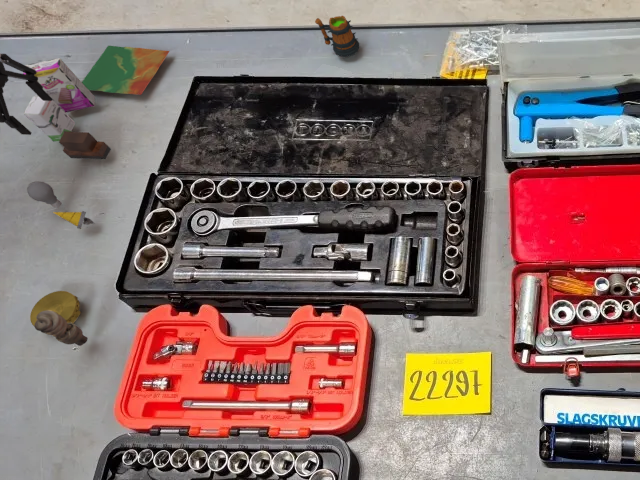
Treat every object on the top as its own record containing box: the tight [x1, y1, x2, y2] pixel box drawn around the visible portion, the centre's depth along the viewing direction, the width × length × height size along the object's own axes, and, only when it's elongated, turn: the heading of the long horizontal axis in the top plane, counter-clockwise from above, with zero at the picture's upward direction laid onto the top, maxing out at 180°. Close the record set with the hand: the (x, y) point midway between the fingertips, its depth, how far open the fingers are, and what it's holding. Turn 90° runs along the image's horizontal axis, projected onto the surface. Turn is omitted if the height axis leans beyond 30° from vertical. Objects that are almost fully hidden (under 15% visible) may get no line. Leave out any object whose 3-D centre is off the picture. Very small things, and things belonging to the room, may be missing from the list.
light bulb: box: [26, 180, 63, 209], centre depth 161 cm, size 6×6×10 cm
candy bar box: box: [22, 57, 96, 114], centre depth 177 cm, size 11×5×16 cm, turn 108°
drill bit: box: [52, 210, 96, 230], centre depth 159 cm, size 5×5×10 cm
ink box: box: [23, 95, 76, 142], centre depth 174 cm, size 9×5×12 cm, turn 1°
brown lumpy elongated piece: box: [33, 310, 88, 347], centre depth 138 cm, size 6×6×15 cm
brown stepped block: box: [58, 131, 112, 160], centre depth 172 cm, size 12×4×8 cm, turn 86°
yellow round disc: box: [29, 290, 82, 327], centre depth 148 cm, size 12×12×2 cm
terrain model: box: [81, 45, 170, 96], centre depth 192 cm, size 25×22×1 cm
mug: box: [314, 15, 361, 58], centre depth 190 cm, size 13×10×12 cm
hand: (37, 116), depth 158 cm, fingers open, 13 cm apart
